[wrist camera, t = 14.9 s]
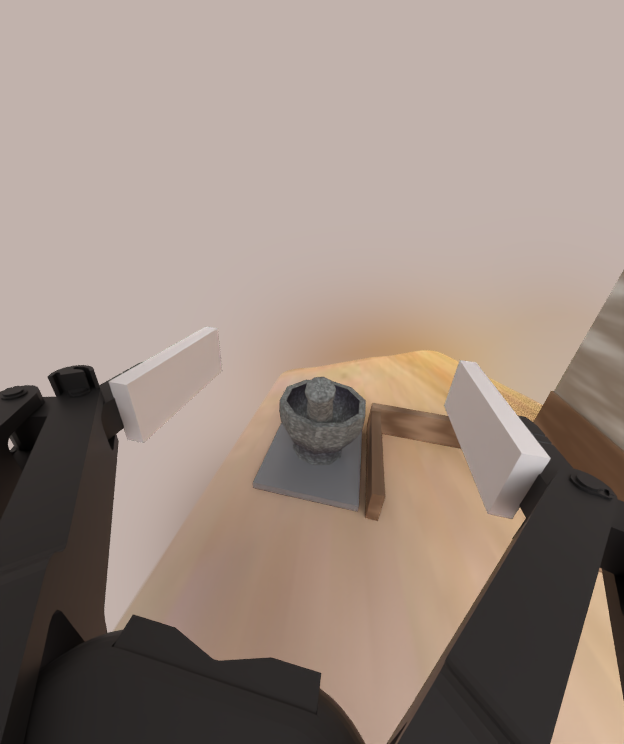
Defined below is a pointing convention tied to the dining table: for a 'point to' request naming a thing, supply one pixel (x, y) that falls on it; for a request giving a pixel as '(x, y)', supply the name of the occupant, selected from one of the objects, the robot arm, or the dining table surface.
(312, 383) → the mortar and pestle
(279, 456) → the slate pad
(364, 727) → the dining table surface
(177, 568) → the dining table surface
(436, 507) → the dining table surface
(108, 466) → the robot arm
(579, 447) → the brown piece
